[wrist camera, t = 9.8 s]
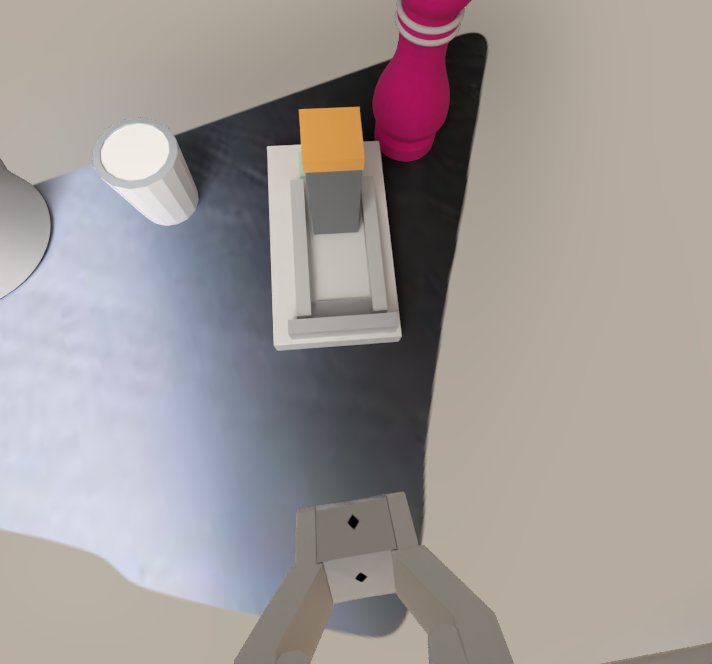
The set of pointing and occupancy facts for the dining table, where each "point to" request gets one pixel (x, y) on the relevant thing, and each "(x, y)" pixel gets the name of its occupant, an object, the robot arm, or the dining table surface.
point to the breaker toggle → (333, 167)
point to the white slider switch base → (329, 262)
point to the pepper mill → (416, 78)
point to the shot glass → (147, 170)
